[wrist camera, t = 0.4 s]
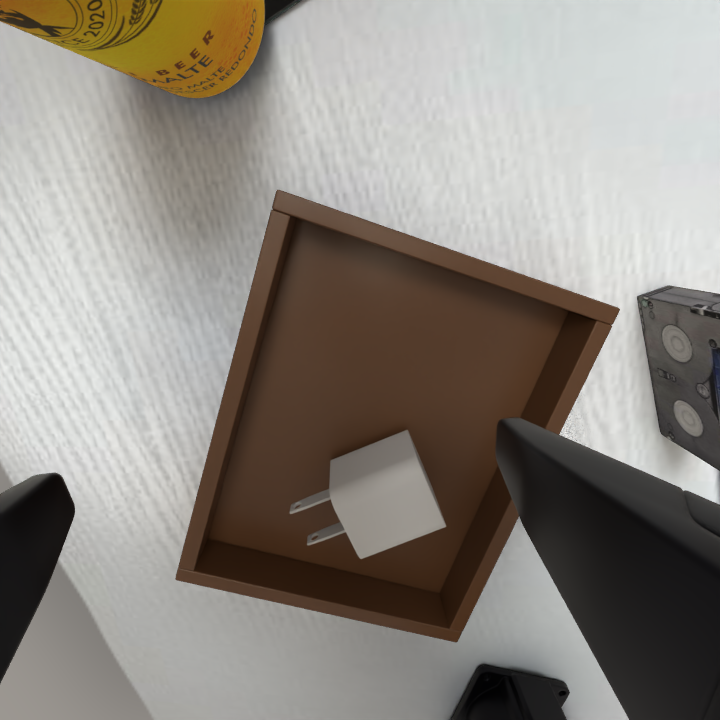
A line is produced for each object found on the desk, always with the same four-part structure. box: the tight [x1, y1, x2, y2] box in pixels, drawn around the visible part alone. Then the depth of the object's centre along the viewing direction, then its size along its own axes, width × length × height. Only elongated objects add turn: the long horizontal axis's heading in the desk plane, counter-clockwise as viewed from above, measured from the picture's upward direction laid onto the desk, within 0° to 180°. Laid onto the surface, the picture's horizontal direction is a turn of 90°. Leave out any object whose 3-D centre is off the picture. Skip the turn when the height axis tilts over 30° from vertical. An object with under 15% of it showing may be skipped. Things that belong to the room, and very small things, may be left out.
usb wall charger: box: [290, 430, 446, 559], centre depth 22 cm, size 4×7×4 cm, turn 113°
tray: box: [176, 190, 620, 642], centre depth 22 cm, size 20×16×3 cm
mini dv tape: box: [638, 286, 720, 471], centre depth 20 cm, size 8×2×6 cm, turn 20°
